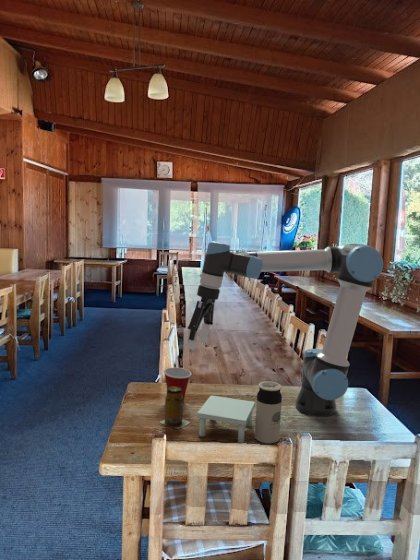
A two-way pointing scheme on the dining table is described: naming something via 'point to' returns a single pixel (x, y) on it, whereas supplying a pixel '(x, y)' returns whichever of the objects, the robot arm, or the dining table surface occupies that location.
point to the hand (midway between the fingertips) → (196, 345)
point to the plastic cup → (177, 378)
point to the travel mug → (268, 412)
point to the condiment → (174, 408)
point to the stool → (226, 413)
